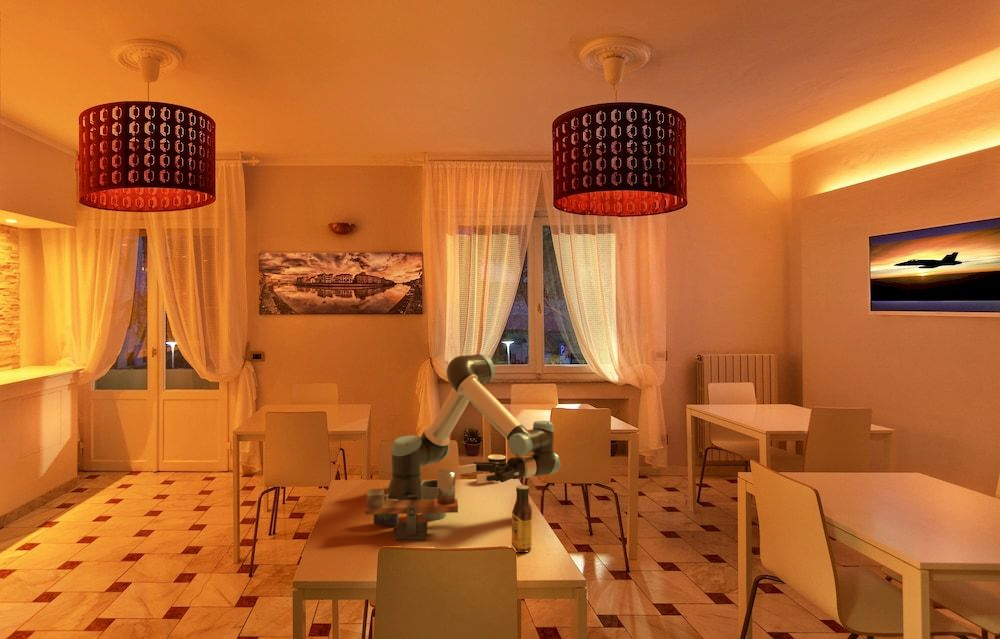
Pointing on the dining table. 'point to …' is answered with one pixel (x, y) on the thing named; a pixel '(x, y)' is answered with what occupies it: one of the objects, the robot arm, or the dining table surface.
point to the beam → (404, 505)
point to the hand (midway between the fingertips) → (467, 474)
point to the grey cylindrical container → (430, 498)
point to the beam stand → (411, 526)
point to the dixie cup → (496, 459)
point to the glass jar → (446, 487)
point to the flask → (386, 517)
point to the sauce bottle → (522, 521)
